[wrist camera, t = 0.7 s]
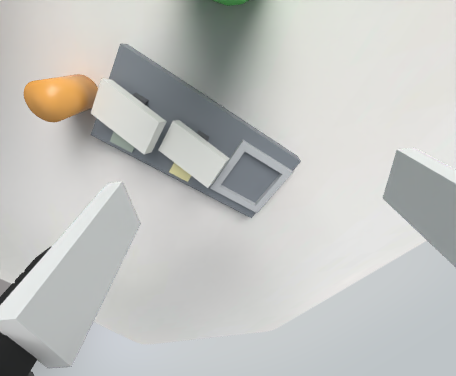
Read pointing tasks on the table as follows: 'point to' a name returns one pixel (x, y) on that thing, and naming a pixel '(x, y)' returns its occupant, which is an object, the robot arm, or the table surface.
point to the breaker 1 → (127, 116)
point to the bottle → (231, 2)
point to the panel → (206, 128)
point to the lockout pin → (60, 96)
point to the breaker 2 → (193, 153)
